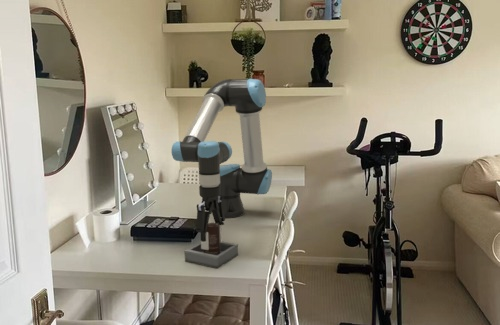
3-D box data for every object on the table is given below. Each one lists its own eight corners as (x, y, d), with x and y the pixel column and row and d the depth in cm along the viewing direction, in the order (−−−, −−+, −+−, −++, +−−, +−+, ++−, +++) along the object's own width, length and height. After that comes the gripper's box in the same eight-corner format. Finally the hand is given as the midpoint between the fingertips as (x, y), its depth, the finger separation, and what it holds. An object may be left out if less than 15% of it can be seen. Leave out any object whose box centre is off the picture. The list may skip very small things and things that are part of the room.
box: (220, 253, 186) (219, 222, 183) (220, 257, 181) (219, 226, 179) (203, 253, 185) (202, 222, 183) (203, 258, 181) (202, 226, 179)
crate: (206, 248, 193) (206, 238, 192) (238, 255, 186) (238, 244, 185) (184, 261, 181) (184, 250, 180) (217, 268, 174) (217, 257, 173)
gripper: (216, 177, 188) (218, 235, 193) (183, 190, 171) (186, 253, 175) (233, 179, 185) (235, 238, 189) (201, 192, 167) (204, 256, 172)
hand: (211, 245), depth 182 cm, fingers open, 8 cm apart
